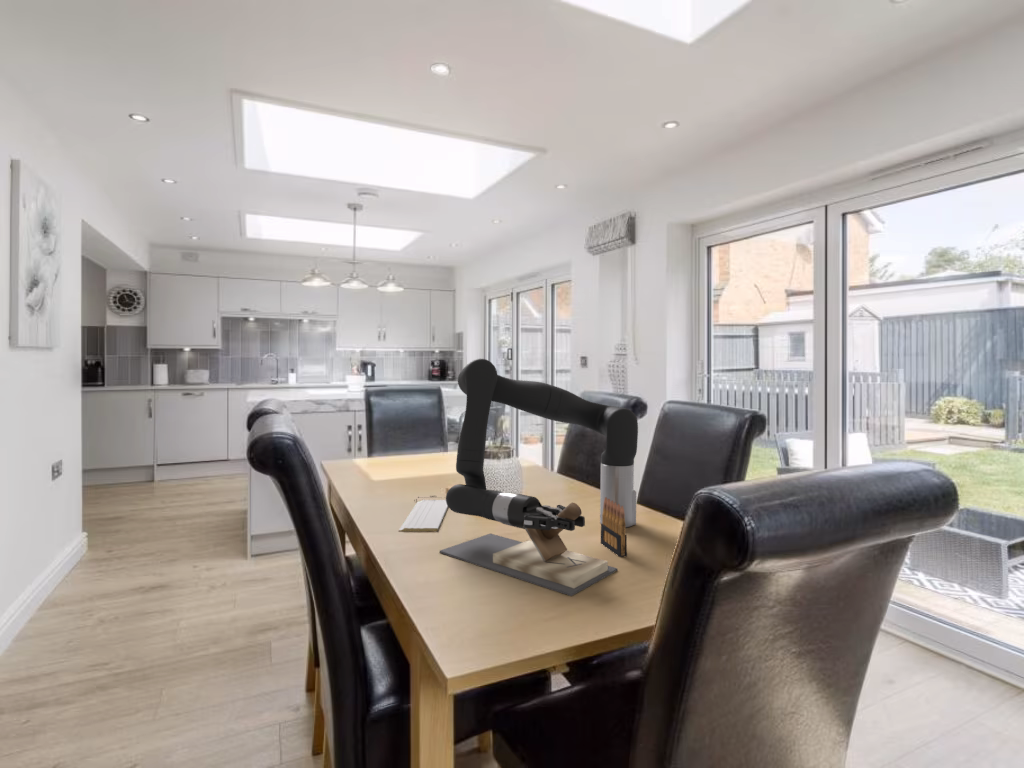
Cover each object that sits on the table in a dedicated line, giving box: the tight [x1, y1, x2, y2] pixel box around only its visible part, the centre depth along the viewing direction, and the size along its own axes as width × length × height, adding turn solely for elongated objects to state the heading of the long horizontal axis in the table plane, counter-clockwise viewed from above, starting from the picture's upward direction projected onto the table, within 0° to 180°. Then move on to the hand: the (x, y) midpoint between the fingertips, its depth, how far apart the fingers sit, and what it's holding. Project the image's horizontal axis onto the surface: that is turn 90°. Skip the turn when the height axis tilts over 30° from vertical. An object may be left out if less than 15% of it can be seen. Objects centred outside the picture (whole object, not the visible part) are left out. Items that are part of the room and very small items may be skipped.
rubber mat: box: [439, 533, 618, 597], centre depth 129 cm, size 38×18×1 cm, turn 50°
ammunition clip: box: [600, 497, 628, 558], centre depth 137 cm, size 11×2×12 cm, turn 16°
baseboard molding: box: [398, 495, 449, 532], centre depth 167 cm, size 31×3×12 cm
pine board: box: [493, 539, 609, 588], centre depth 124 cm, size 22×13×2 cm, turn 50°
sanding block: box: [523, 502, 582, 562], centre depth 122 cm, size 10×6×12 cm
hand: (578, 523), depth 119 cm, fingers closed on sanding block, 3 cm apart
